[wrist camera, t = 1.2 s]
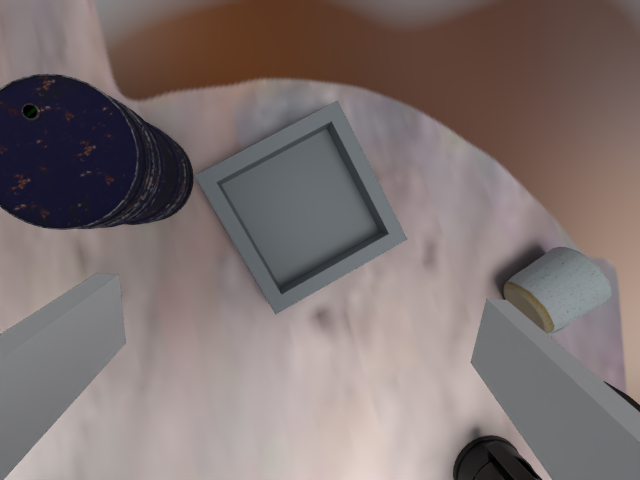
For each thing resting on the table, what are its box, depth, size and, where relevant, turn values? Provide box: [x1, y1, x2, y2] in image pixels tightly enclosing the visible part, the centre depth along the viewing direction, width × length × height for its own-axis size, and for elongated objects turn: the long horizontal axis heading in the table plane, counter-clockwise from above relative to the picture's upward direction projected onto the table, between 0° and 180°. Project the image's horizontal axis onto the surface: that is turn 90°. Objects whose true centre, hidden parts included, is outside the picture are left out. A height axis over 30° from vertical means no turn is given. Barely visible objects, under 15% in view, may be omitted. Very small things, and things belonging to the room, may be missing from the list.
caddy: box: [195, 101, 407, 314], centre depth 36 cm, size 16×16×4 cm
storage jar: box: [0, 74, 193, 230], centre depth 29 cm, size 10×10×15 cm
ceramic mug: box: [503, 247, 612, 336], centre depth 40 cm, size 11×8×8 cm
